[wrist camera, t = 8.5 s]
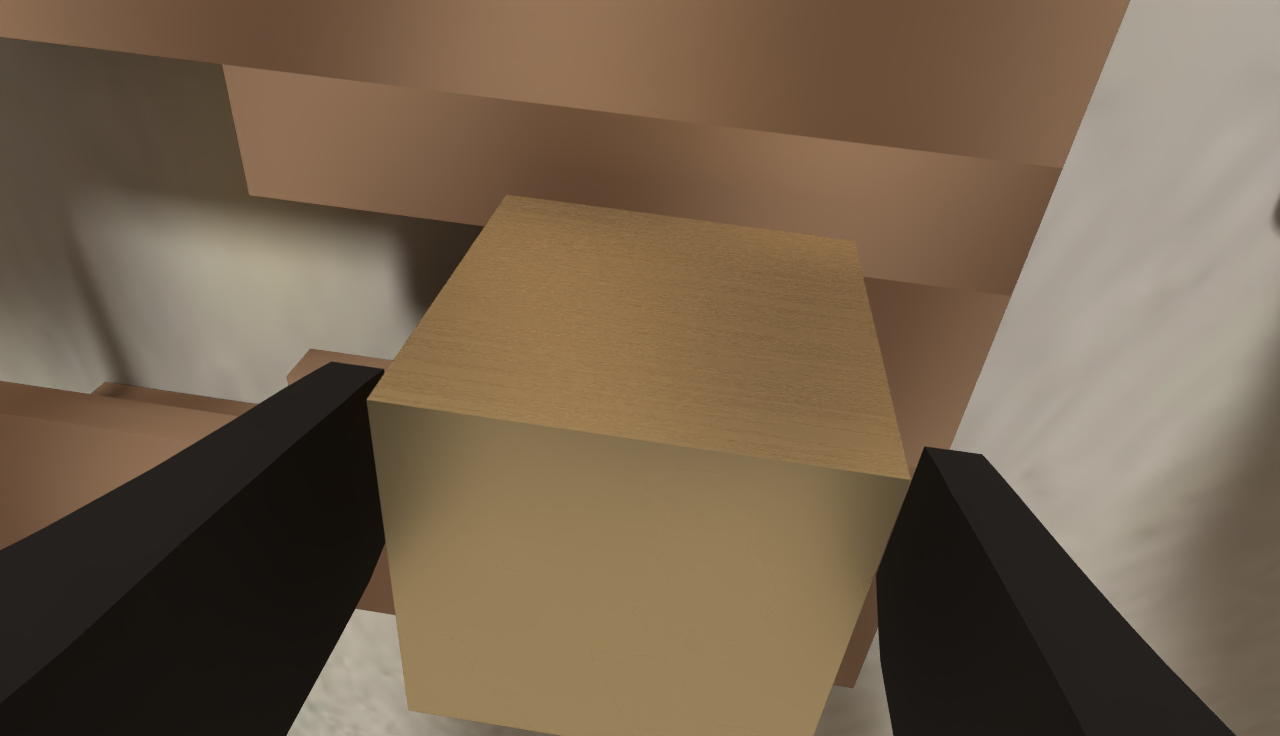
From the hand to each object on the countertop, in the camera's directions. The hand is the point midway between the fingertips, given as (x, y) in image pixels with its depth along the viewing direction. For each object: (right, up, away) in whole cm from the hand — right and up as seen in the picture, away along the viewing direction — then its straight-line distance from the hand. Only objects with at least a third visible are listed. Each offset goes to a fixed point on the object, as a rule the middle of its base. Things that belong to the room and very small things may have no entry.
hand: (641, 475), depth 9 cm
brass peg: (+1, +4, +5) cm, 7 cm away
